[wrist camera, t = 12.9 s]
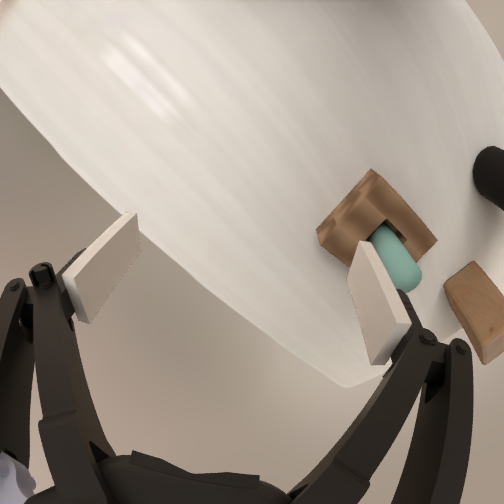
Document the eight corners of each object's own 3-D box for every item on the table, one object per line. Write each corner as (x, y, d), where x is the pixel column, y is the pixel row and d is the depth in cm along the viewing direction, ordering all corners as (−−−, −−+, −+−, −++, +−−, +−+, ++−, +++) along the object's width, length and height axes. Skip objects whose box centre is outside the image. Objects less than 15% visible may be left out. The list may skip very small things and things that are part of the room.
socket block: (371, 168, 39) (383, 177, 34) (424, 226, 43) (437, 240, 38) (316, 229, 46) (320, 245, 41) (374, 276, 49) (382, 293, 45)
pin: (377, 214, 41) (411, 259, 29) (392, 229, 42) (426, 276, 30) (360, 232, 43) (386, 282, 31) (375, 246, 44) (403, 298, 33)
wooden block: (441, 282, 49) (481, 348, 32) (473, 257, 45) (520, 316, 28) (450, 306, 52) (483, 368, 35) (479, 284, 48) (518, 341, 31)
